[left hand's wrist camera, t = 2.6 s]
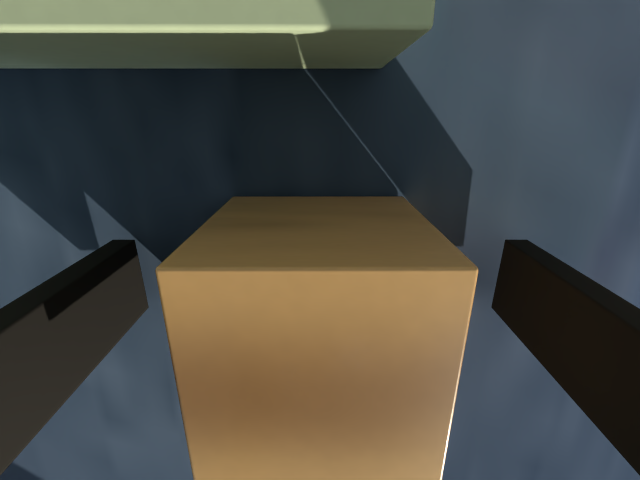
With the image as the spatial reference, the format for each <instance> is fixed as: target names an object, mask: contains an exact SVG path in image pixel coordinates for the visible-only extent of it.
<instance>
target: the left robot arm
mask: <svg viewBox="0 0 640 480" xmlns="http://www.w3.org/2000/svg"><path fill="white" fill-rule="evenodd" d="M147 308H148V302H147V297H146V293H145V288H144V283H143V278H142V273H141V268H140V263H139V259H138V254H137V249H136V244H135V240H112V241H110V242H109V243H107V244H105V245H104V246H102V247H101V248H99V249H97V250H96V251H94V252H92V253H91V254H89V255H87V256H86V257H84V258H83V259H81V260H79V261H78V262H76V263H74V264H73V265H71V266H70V267H68V268H66V269H65V270H63V271H61V272H60V273H58V274H57V275H55V276H53V277H52V278H50V279H48V280H47V281H45V282H43V283H42V284H40V285H39V286H37V287H35V288H34V289H32V290H30V291H29V292H27V293H26V294H24V295H22V296H21V297H19V298H17V299H16V300H14V301H12V302H11V303H9V304H8V305H6V306H4V307H3V308H1V309H0V475H1V474H2V473H3V472H4V471H5V469H6V468H7V467H8V466H9V465H10V464H11V463H12V462H13V460H14V459H15V458H16V457H17V456H18V455H19V454H20V452H21V451H22V450H23V449H24V448H25V447H26V446H27V445H28V443H29V442H30V441H31V440H32V439H33V438H34V437H35V435H36V434H37V433H38V432H39V431H40V430H41V429H42V428H43V426H44V425H45V424H46V423H47V422H48V421H49V420H50V418H51V417H52V416H53V415H54V414H55V413H56V412H57V411H58V409H59V408H60V407H61V406H62V405H63V404H64V403H65V401H66V400H67V399H68V398H69V397H70V396H71V395H72V394H73V392H74V391H75V390H76V389H77V388H78V387H79V386H80V384H81V383H82V382H83V381H84V380H85V379H86V378H87V376H88V375H89V374H90V373H91V372H92V371H93V370H94V369H95V367H96V366H97V365H98V364H99V363H100V362H101V361H102V359H103V358H104V357H105V356H106V355H107V354H108V353H109V352H110V350H111V349H112V348H113V347H114V346H115V345H116V344H117V342H118V341H119V340H120V339H121V338H122V337H123V336H124V335H125V333H126V332H127V331H128V330H129V329H130V328H131V327H132V325H133V324H134V323H135V322H136V321H137V320H138V319H139V318H140V316H141V315H142V314H143V313H144V312H145V311H146V310H147ZM492 308H493V310H494V311H495V312H496V313H497V314H498V315H499V316H500V318H501V319H502V320H503V321H504V322H505V323H506V324H507V325H508V327H509V328H510V329H511V330H512V331H513V332H514V333H515V335H516V336H517V337H518V338H519V339H520V340H521V341H522V342H523V344H524V345H525V346H526V347H527V348H528V349H529V350H530V352H531V353H532V354H533V355H534V356H535V357H536V358H537V359H538V361H539V362H540V363H541V364H542V365H543V366H544V367H545V369H546V370H547V371H548V372H549V373H550V374H551V375H552V376H553V378H554V379H555V380H556V381H557V382H558V383H559V384H560V386H561V387H562V388H563V389H564V390H565V391H566V392H567V394H568V395H569V396H570V397H571V398H572V399H573V400H574V401H575V403H576V404H577V405H578V406H579V407H580V408H581V409H582V411H583V412H584V413H585V414H586V415H587V416H588V417H589V418H590V420H591V421H592V422H593V423H594V424H595V425H596V426H597V428H598V429H599V430H600V431H601V432H602V433H603V434H604V435H605V437H606V438H607V439H608V440H609V441H610V442H611V443H612V445H613V446H614V447H615V448H616V449H617V450H618V451H619V452H620V454H621V455H622V456H623V457H624V458H625V459H626V460H627V462H628V463H629V464H630V465H631V466H632V467H633V468H634V469H635V471H636V472H637V473H638V474H639V475H640V309H639V308H637V307H636V306H634V305H632V304H631V303H629V302H628V301H626V300H624V299H623V298H621V297H619V296H618V295H616V294H614V293H613V292H611V291H610V290H608V289H606V288H605V287H603V286H601V285H600V284H598V283H597V282H595V281H593V280H592V279H590V278H588V277H587V276H585V275H583V274H582V273H580V272H579V271H577V270H575V269H574V268H572V267H570V266H569V265H567V264H566V263H564V262H562V261H561V260H559V259H557V258H556V257H554V256H553V255H551V254H549V253H548V252H546V251H544V250H543V249H541V248H539V247H538V246H536V245H535V244H533V243H531V242H530V241H528V240H505V244H504V249H503V254H502V259H501V263H500V268H499V273H498V278H497V283H496V288H495V293H494V297H493V302H492Z"/></svg>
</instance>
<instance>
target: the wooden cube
mask: <svg viewBox="0 0 640 480" xmlns="http://www.w3.org/2000/svg"><path fill="white" fill-rule="evenodd" d="M477 276H478V267H477V266H476V265H475V264H474V263H473V262H471V261H470V260H469V259H468V258H467V257H466V256H465V255H464V254H463V253H462V252H461V251H460V250H459V249H458V248H457V247H456V246H455V245H454V244H452V243H451V242H450V241H449V240H448V239H447V238H446V237H445V236H444V235H443V234H442V233H441V232H440V231H439V230H438V229H437V228H436V227H435V226H433V225H432V224H431V223H430V222H429V221H428V220H427V219H426V218H425V217H424V216H423V215H422V214H421V213H420V212H419V211H418V210H417V209H415V208H414V207H413V206H412V205H411V204H410V203H409V202H408V201H407V200H406V199H405V198H404V197H402V196H390V197H232V198H231V199H230V200H229V201H228V202H227V203H226V204H225V205H223V206H222V207H221V208H220V209H219V210H218V211H217V212H216V213H215V214H214V215H213V216H212V217H210V218H209V219H208V220H207V221H206V222H205V223H204V224H203V225H202V226H201V227H200V228H199V229H198V230H196V231H195V232H194V233H193V234H192V235H191V236H190V237H189V238H188V239H187V240H186V241H185V242H183V243H182V244H181V245H180V246H179V247H178V248H177V249H176V250H175V251H174V252H173V253H172V254H170V255H169V256H168V257H167V258H166V259H165V260H164V261H163V262H162V263H161V264H160V265H159V266H158V267H156V277H157V282H158V288H159V293H160V299H161V304H162V310H163V315H164V320H165V326H166V331H167V337H168V342H169V348H170V353H171V359H172V364H173V370H174V375H175V380H176V386H177V391H178V397H179V402H180V408H181V413H182V419H183V424H184V430H185V435H186V441H187V446H188V451H189V457H190V462H191V468H192V473H193V479H194V480H442V474H443V469H444V463H445V457H446V452H447V446H448V440H449V435H450V429H451V423H452V417H453V412H454V406H455V400H456V395H457V389H458V383H459V378H460V372H461V366H462V361H463V355H464V349H465V344H466V338H467V332H468V327H469V321H470V315H471V310H472V304H473V298H474V293H475V287H476V281H477Z"/></svg>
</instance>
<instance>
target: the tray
mask: <svg viewBox="0 0 640 480" xmlns="http://www.w3.org/2000/svg"><path fill="white" fill-rule="evenodd" d="M434 7H435V0H0V68H47V69H381V68H382V67H384V66H385V65H386V64H387V63H388V62H390V61H391V60H392V59H393V58H395V57H396V56H397V55H399V54H400V53H401V52H402V51H404V50H405V49H406V48H407V47H409V46H410V45H411V44H413V43H414V42H415V41H416V40H418V39H419V38H420V37H421V36H423V35H424V34H425V33H427V32H428V31H429V30H430V29H431V28H432V25H433V17H434Z"/></svg>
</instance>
